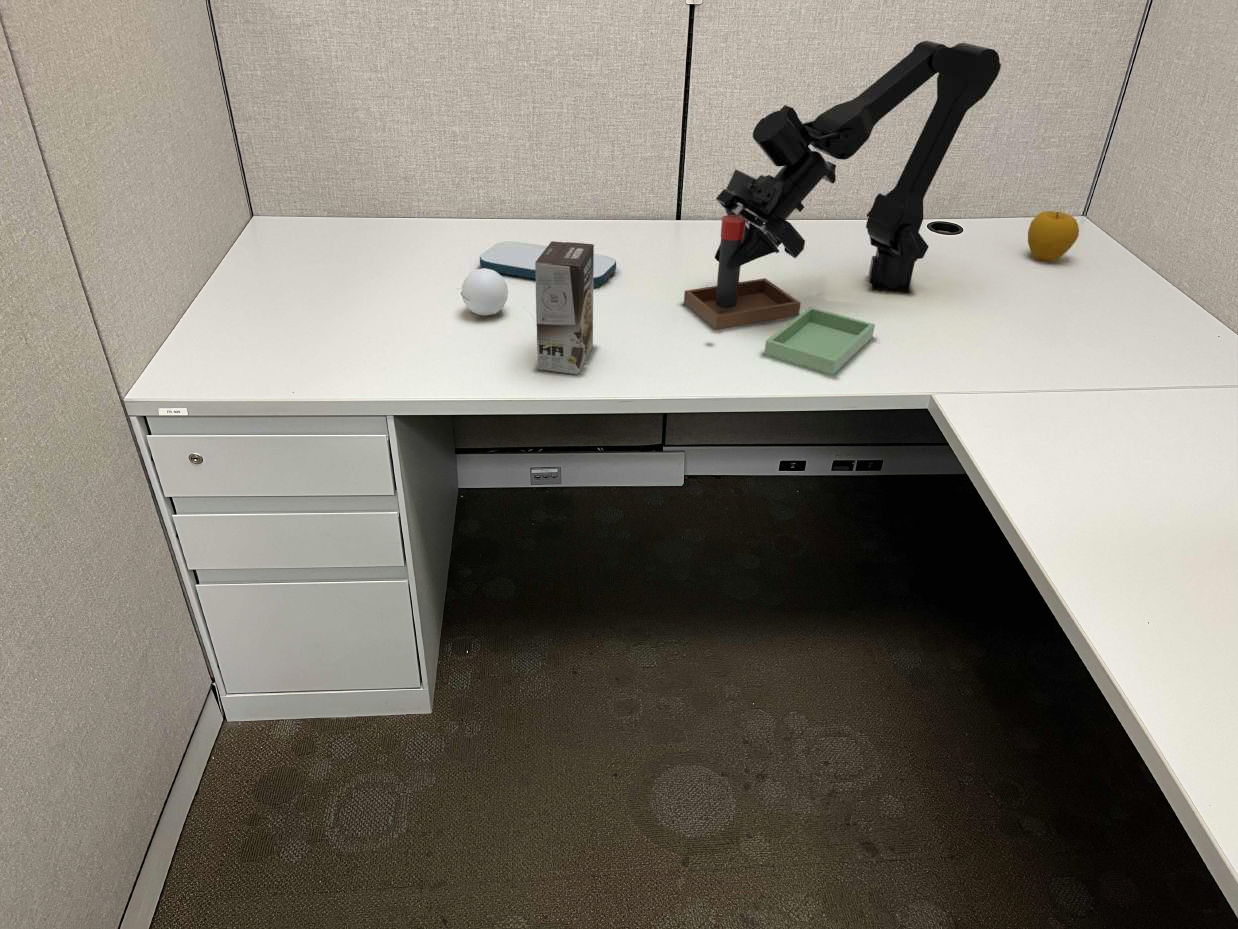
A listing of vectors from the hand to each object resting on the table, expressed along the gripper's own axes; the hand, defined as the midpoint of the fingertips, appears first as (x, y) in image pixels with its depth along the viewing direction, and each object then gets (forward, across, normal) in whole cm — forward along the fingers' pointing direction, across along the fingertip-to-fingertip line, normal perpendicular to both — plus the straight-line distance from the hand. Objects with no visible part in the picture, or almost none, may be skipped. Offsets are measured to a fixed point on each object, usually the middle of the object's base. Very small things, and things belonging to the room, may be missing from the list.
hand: (722, 263), depth 137 cm
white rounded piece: (+31, -14, -19) cm, 39 cm away
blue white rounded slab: (+20, -28, -7) cm, 35 cm away
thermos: (+4, 0, +6) cm, 7 cm away
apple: (-44, 0, +57) cm, 72 cm away
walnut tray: (+3, 0, +9) cm, 10 cm away
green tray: (0, +16, +12) cm, 20 cm away
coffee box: (+26, +6, -14) cm, 30 cm away
